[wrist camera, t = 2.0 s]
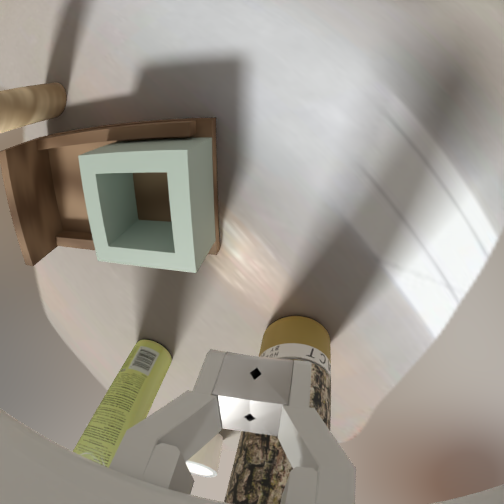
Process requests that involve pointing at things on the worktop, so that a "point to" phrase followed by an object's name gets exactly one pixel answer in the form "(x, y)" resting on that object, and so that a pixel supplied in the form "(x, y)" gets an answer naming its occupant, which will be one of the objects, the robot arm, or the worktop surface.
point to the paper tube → (269, 447)
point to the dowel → (30, 105)
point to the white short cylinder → (206, 458)
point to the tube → (125, 401)
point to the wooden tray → (70, 183)
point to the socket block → (125, 210)
